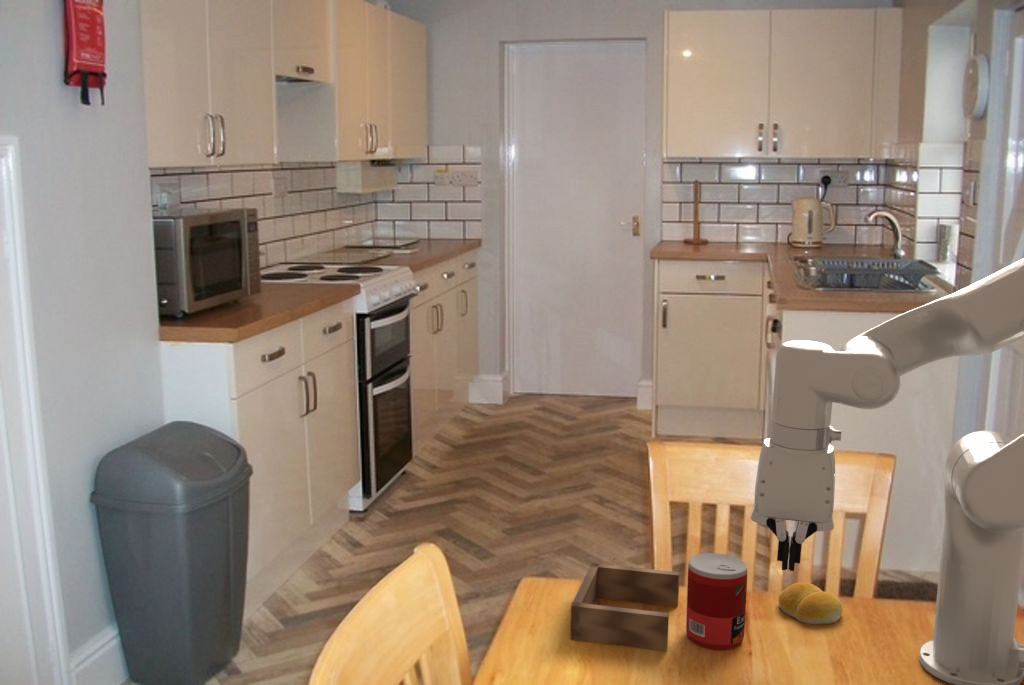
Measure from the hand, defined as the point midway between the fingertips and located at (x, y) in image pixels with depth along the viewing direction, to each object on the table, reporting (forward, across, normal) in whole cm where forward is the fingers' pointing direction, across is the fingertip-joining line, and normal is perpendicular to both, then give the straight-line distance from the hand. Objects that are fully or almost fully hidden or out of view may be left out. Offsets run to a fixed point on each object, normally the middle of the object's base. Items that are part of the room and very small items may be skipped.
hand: (787, 566), depth 142 cm
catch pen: (+12, +21, -2) cm, 24 cm away
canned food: (+12, +9, 0) cm, 15 cm away
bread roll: (+12, -4, -12) cm, 17 cm away
